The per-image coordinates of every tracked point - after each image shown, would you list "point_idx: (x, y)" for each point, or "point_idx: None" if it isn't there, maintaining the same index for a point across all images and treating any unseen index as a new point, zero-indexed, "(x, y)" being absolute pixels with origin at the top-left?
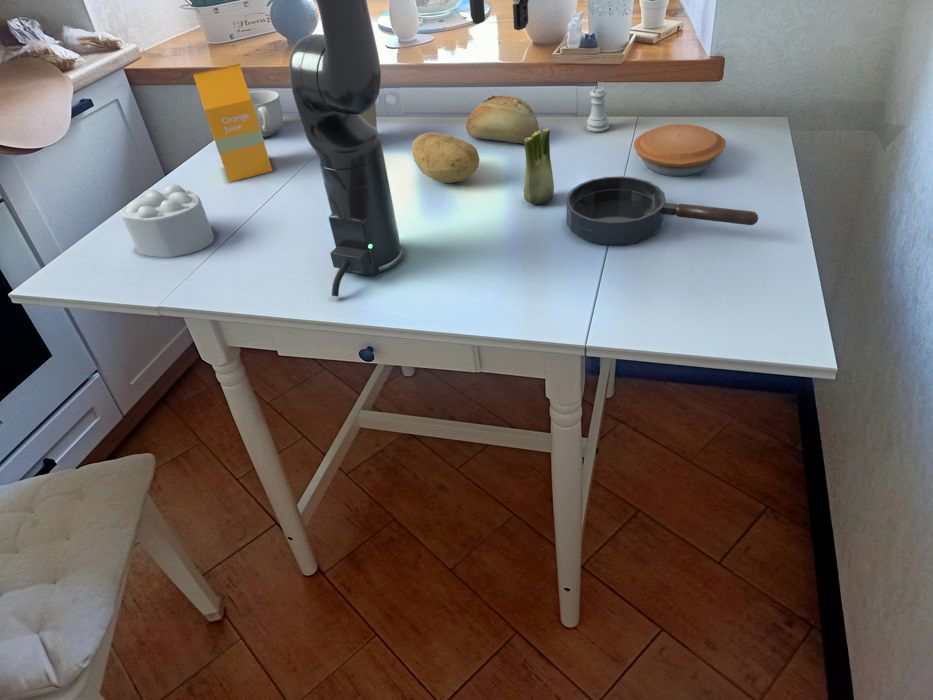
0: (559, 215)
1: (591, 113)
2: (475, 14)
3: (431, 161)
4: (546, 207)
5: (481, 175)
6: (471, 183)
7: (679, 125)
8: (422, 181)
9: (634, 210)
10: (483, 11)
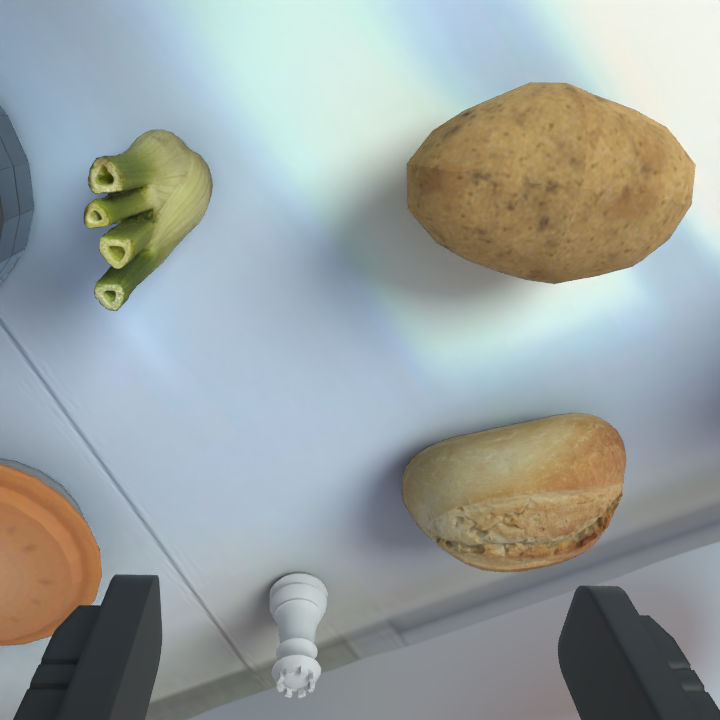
0: (55, 132)
1: (308, 615)
2: (617, 644)
3: (554, 90)
4: None
5: (434, 245)
6: None
7: (22, 626)
8: None
9: None
10: (587, 716)
